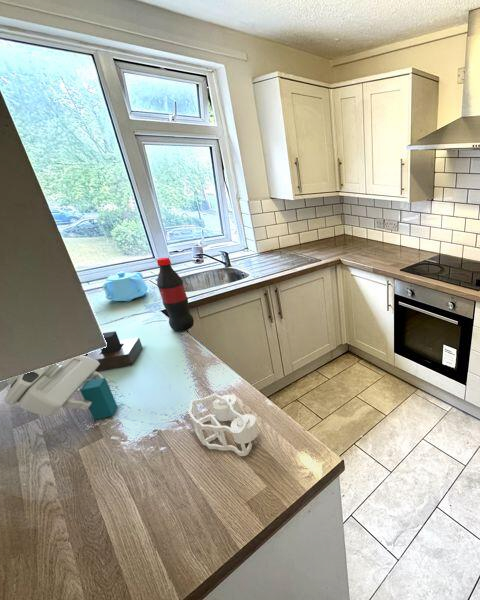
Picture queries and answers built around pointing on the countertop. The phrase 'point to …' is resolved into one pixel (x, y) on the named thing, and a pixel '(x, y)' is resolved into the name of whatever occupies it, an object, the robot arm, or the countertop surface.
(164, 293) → the cola bottle
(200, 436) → the skeletal toy car
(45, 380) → the robot arm
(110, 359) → the walnut base
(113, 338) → the black upright block
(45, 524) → the countertop surface
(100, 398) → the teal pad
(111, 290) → the decorative pot
